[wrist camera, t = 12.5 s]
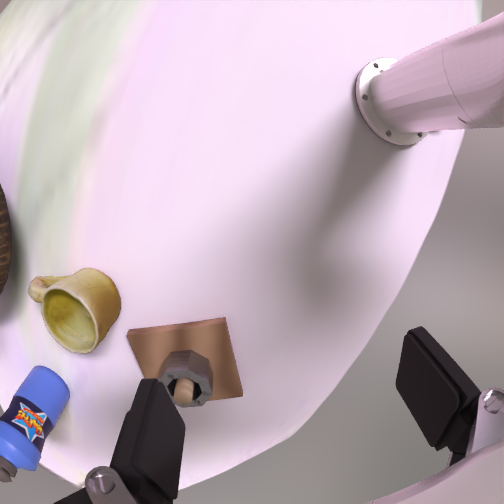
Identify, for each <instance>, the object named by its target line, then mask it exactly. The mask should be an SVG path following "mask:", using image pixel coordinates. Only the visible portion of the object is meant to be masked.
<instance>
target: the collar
mask: <svg viewBox="0 0 504 504" xmlns="http://www.w3.org/2000/svg"><path fill="white" fill-rule="evenodd" d="M177 378H188V379H190V380H192V381H194V387H193V397H192V402H191V403H190V404H187V405H183V404H179V403H177V402H176V401H175V400H174V392H175V386H176V381H177ZM158 381H159V382H163V384H164V386H165V388H166V390H167V392H168V394H169V396H170V398H171V400H172V402H173V403H174V404H175V405H178V406H180V407H196V406H202V405H203V404H204V403H205V402H206V401H207V400H208V399H209V398H210V397H211V396H212V395H213V371H212V368H211V365H210V361H209V359H208V358H206V357H204V356H202V355H200V354H198V353H196V352H195V351H193V350H182V351H173V352H170V354H169V355H168V356H167V358H166V359H165V360H164V362H163V363H162V365H161V369H160V373H159V376H158Z"/></svg>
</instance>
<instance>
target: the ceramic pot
mask: <svg viewBox="0 0 504 504" xmlns="http://www.w3.org/2000/svg"><path fill="white" fill-rule="evenodd" d="M10 257H11V228H10V218H9V213H8V209H7V204H6V200H5V195H4V192H3V189H2V187H1V184H0V294H1V293H2V291H3V288H4V286H5V284H6V281H7V277H8V272H9V268H10Z"/></svg>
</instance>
